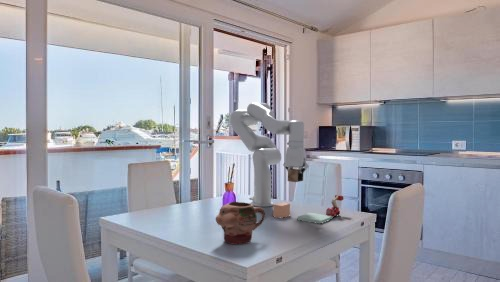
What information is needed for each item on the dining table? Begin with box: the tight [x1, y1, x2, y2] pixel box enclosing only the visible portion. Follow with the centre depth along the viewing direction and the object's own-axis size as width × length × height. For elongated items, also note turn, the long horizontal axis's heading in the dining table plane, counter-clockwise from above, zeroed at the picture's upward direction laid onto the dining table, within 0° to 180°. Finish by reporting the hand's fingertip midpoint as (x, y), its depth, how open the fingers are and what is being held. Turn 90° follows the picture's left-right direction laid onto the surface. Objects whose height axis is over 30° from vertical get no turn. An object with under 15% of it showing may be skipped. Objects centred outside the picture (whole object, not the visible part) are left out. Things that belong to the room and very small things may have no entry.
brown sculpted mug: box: [215, 201, 266, 245], centre depth 139 cm, size 20×12×14 cm, turn 121°
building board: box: [296, 212, 334, 224], centre depth 174 cm, size 12×12×2 cm
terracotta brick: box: [272, 202, 291, 219], centre depth 181 cm, size 5×7×6 cm
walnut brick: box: [287, 167, 304, 183], centre depth 191 cm, size 5×7×6 cm
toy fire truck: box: [325, 194, 344, 218], centre depth 182 cm, size 3×14×10 cm, turn 143°
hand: (295, 179), depth 191 cm, fingers closed on walnut brick, 5 cm apart
